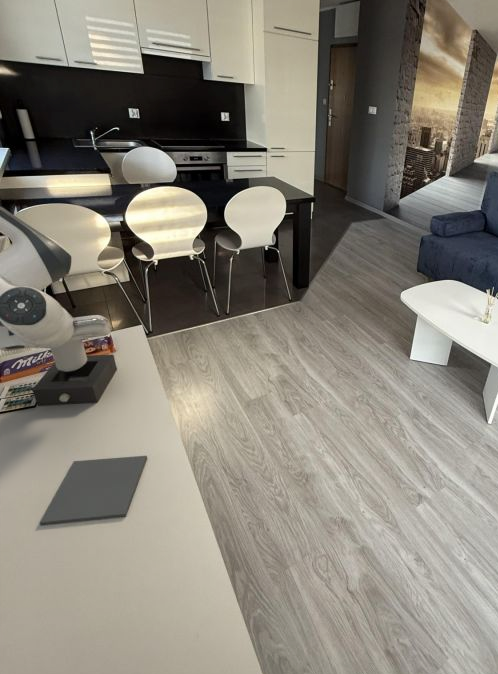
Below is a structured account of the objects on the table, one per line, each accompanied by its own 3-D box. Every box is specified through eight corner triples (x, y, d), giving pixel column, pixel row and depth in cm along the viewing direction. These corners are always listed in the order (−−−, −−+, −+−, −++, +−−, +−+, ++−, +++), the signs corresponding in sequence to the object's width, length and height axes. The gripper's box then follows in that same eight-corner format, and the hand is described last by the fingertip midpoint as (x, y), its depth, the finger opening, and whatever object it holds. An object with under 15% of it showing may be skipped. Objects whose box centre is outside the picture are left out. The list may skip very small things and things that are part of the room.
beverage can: (50, 370, 96) (36, 328, 91) (73, 355, 102) (61, 315, 97) (72, 375, 95) (59, 334, 90) (94, 360, 101) (83, 320, 95)
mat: (40, 525, 71) (39, 522, 70) (74, 463, 82) (73, 461, 82) (125, 516, 73) (125, 513, 73) (147, 458, 84) (146, 455, 84)
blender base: (35, 408, 94) (29, 392, 92) (64, 371, 106) (59, 356, 104) (95, 405, 96) (91, 389, 94) (117, 369, 109) (113, 354, 106)
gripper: (104, 304, 89) (114, 320, 101) (-14, 320, 80) (12, 335, 92) (107, 331, 88) (116, 344, 100) (-13, 350, 79) (13, 361, 91)
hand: (65, 339), depth 96 cm, fingers closed on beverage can, 6 cm apart
